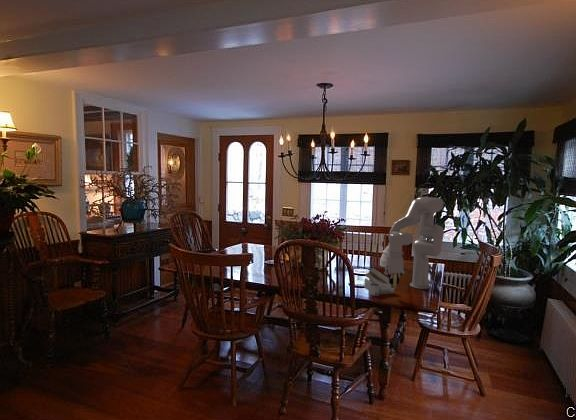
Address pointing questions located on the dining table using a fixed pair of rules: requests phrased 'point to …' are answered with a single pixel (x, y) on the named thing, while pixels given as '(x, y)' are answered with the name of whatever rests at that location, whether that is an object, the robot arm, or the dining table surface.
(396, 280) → the brass pin
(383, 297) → the dining table surface
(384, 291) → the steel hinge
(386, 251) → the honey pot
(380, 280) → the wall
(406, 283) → the dining table surface
